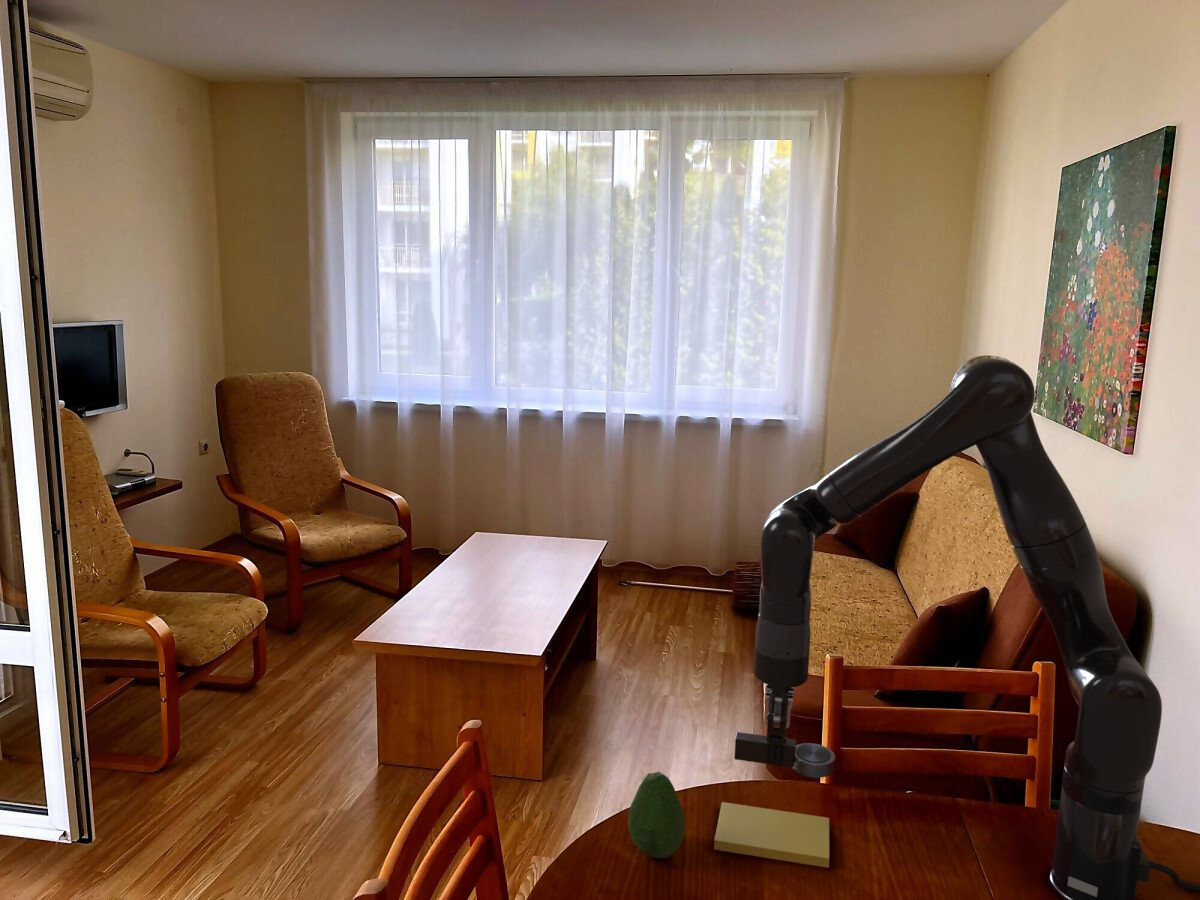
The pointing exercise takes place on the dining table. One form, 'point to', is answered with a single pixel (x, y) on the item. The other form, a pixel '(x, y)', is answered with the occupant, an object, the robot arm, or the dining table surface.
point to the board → (773, 834)
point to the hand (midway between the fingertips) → (775, 758)
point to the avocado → (656, 817)
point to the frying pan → (787, 754)
